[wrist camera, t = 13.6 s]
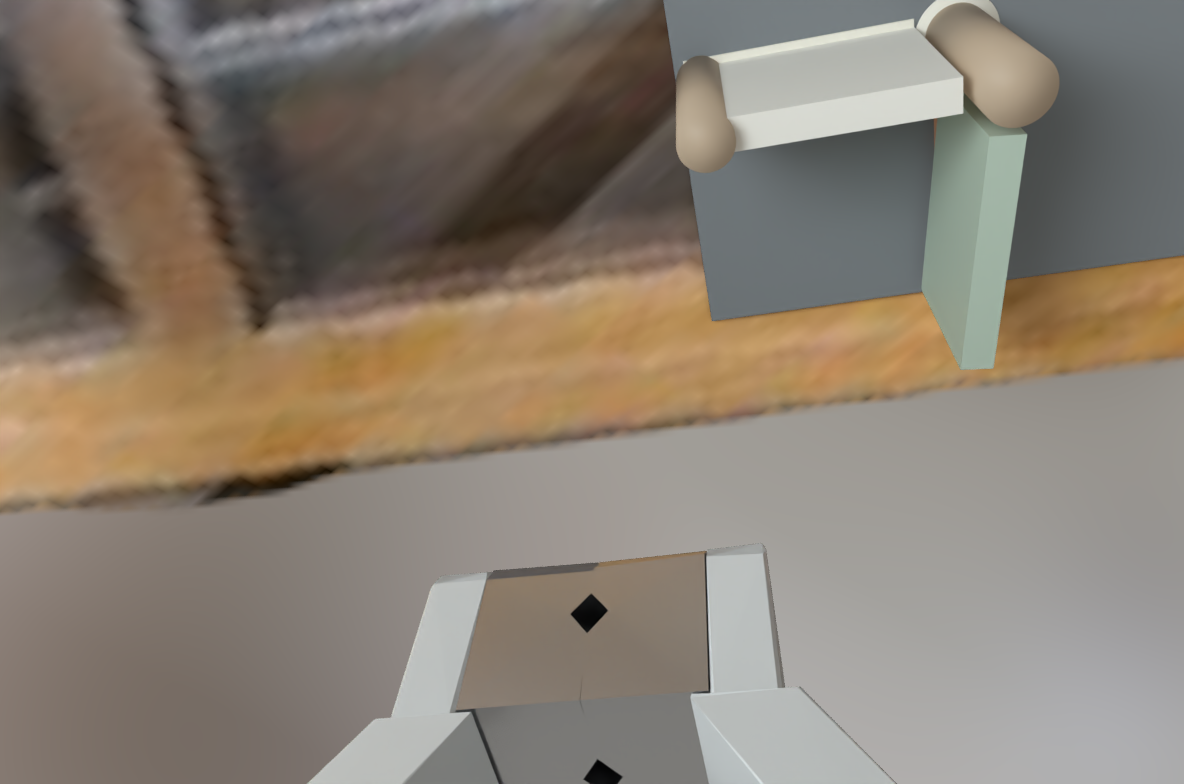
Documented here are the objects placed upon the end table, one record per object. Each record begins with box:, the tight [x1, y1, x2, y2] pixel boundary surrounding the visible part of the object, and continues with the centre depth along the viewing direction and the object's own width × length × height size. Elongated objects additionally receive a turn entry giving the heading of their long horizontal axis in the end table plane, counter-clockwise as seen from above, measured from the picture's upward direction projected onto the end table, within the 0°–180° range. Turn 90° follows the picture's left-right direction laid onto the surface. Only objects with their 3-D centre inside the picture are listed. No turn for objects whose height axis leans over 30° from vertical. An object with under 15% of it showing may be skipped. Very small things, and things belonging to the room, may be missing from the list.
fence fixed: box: [676, 2, 1060, 173], centre depth 35 cm, size 12×2×8 cm, turn 101°
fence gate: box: [921, 92, 1027, 370], centre depth 37 cm, size 9×1×7 cm, turn 5°
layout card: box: [664, 0, 1184, 321], centre depth 40 cm, size 22×15×1 cm
